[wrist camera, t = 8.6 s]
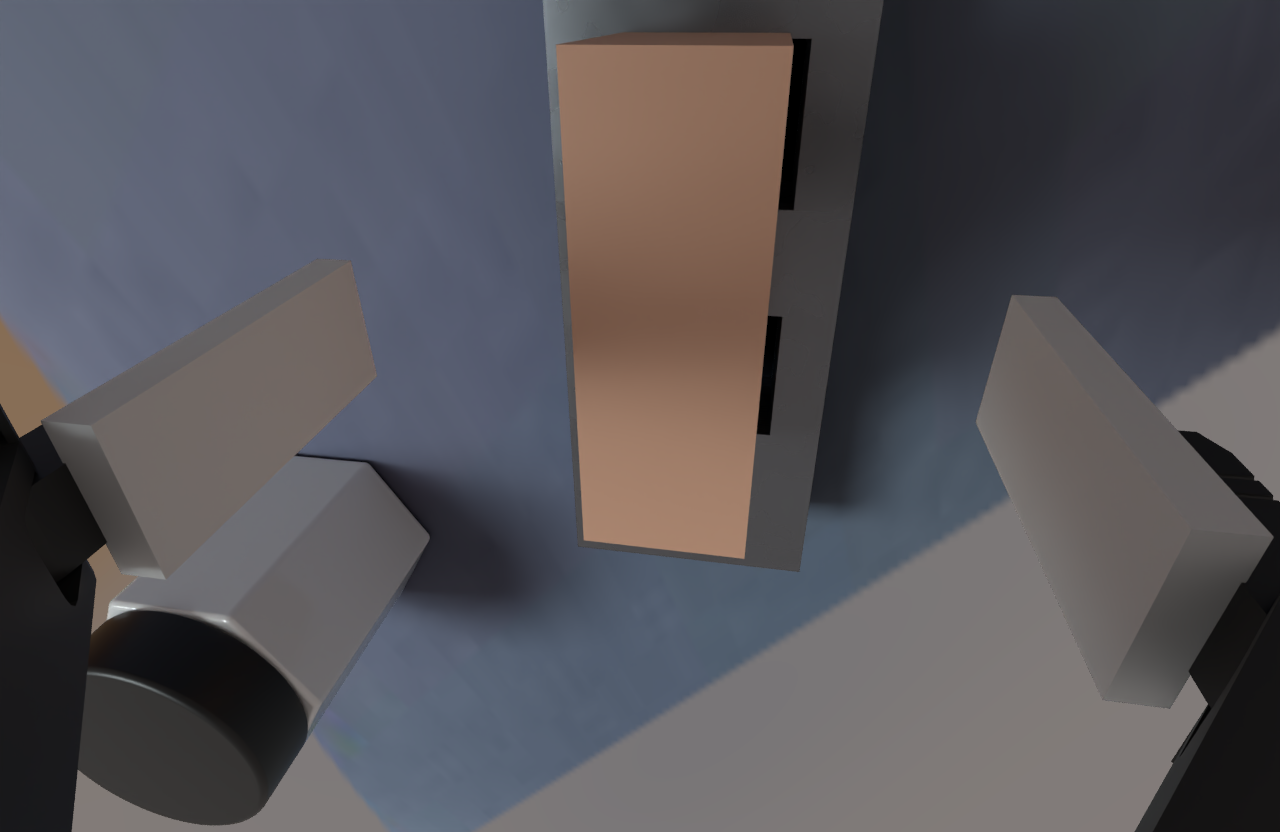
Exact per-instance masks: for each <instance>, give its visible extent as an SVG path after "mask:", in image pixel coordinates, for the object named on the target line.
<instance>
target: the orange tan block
mask: <svg viewBox="0 0 1280 832" xmlns="http://www.w3.org/2000/svg"><path fill="white" fill-rule="evenodd" d="M793 48H794V45H793V41H792V37H791V33H685V32H622V33H617V34H611V35H606V36H600V37H595V38H589V39H584V40H578V41H573V42H567V43H562V44H556V54H557V72H558V90H559V107H560V125H561V143H562V161H563V179H564V197H565V214H566V232H567V250H568V268H569V286H570V304H571V321H572V339H573V357H574V375H575V393H576V410H577V428H578V446H579V464H580V482H581V500H582V517H583V535H584V540H586V541H594V542H603V543H612V544H620V545H629V546H638V547H646V548H655V549H664V550H672V551H681V552H690V553H698V554H707V555H716V556H724V557H733V558H742V559H744V557H745V547H746V537H747V526H748V516H749V505H750V495H751V485H752V474H753V464H754V453H755V443H756V433H757V422H758V412H759V401H760V391H761V381H762V370H763V360H764V349H765V339H766V329H767V318H768V308H769V297H770V287H771V277H772V266H773V256H774V245H775V235H776V225H777V214H778V204H779V193H780V183H781V173H782V162H783V152H784V141H785V131H786V121H787V110H788V100H789V89H790V79H791V69H792V58H793Z"/></svg>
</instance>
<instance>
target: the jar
mask: <svg viewBox="0 0 1280 832" xmlns="http://www.w3.org/2000/svg"><path fill="white" fill-rule="evenodd" d="M429 539H430V536H429V534H428V533H427V531H426V530H425V529H424V528H423V527H422V525H421V524H420V523H419V522H418V521H417V520H416V518H415V517H414V516H413V515H412V514H411V512H410V511H409V510H408V509H407V508H406V507H405V505H404V504H403V503H402V502H401V501H400V499H399V498H398V497H397V496H396V495H395V494H394V492H393V491H392V490H391V489H390V488H389V486H388V485H387V484H386V483H385V482H384V481H383V479H382V478H381V477H380V476H379V475H378V473H377V472H376V471H375V470H374V469H373V468H372V466H371V465H370V464H369V463H366V462H356V461H345V460H334V459H323V458H312V457H302V456H294V457H293V458H292V459H291V460H290V461H289V462H287V463H286V464H285V465H284V466H283V467H282V468H281V469H280V470H279V471H278V472H277V473H276V474H275V475H274V476H273V477H272V478H271V479H270V480H269V481H268V482H267V483H266V484H265V485H264V486H263V487H262V488H261V489H260V490H258V491H257V492H256V493H255V494H254V495H253V496H252V497H251V498H250V499H249V500H248V501H247V502H246V503H245V504H244V505H243V506H242V507H241V508H240V509H239V510H238V511H237V512H236V513H235V514H234V515H233V516H232V517H230V518H229V519H228V520H227V521H226V522H225V523H224V524H223V525H222V526H221V527H220V528H219V529H218V530H217V531H216V532H215V533H214V534H213V535H212V536H211V537H210V538H209V539H208V540H207V541H206V542H205V543H204V544H203V545H201V546H200V547H199V548H198V549H197V550H196V551H195V552H194V553H193V554H192V555H191V556H190V557H189V558H188V559H187V560H186V561H185V562H184V563H183V564H182V565H181V566H180V567H179V568H178V569H177V570H176V571H175V572H174V573H172V574H171V575H170V576H169V577H168V578H167V579H166V580H165V579H157V578H149V577H141V576H138V577H137V578H136V579H135V580H134V581H133V582H131V583H130V584H129V585H128V586H127V587H126V588H125V589H124V590H123V591H121V592H120V593H119V594H118V595H117V596H116V597H115V598H114V599H112V600H111V602H110V603H109V608H108V615H107V621H106V622H104V623H103V624H102V625H101V626H100V627H99V628H98V629H97V630H95V631H94V632H93V633H92V634H91V639H90V649H89V659H88V669H87V679H86V689H85V699H84V710H83V720H82V730H81V740H80V750H79V760H78V770H79V771H81V772H82V773H83V774H84V775H86V776H87V777H88V778H90V779H91V780H92V781H94V782H95V783H97V784H98V785H100V786H101V787H103V788H105V789H106V790H108V791H110V792H111V793H113V794H115V795H116V796H119V797H120V798H122V799H124V800H126V801H128V802H130V803H132V804H134V805H137V806H139V807H141V808H143V809H146V810H148V811H151V812H153V813H156V814H159V815H162V816H165V817H168V818H172V819H175V820H179V821H183V822H188V823H194V824H201V825H230V824H235V823H239V822H243V821H245V820H247V819H249V818H251V817H253V816H254V815H256V814H257V813H258V812H259V811H260V810H261V809H262V808H263V807H264V806H265V804H266V803H267V801H268V799H269V797H270V796H271V795H272V793H273V792H274V790H275V789H276V787H277V786H278V784H279V782H280V781H281V779H282V778H283V776H284V775H285V773H286V772H287V770H288V768H289V767H290V765H291V764H292V762H293V760H294V759H295V758H296V756H297V755H298V753H299V751H300V750H301V748H302V747H303V745H304V743H305V742H306V740H307V739H308V737H309V736H310V734H311V733H312V731H313V729H314V728H315V726H316V725H317V723H318V722H319V720H320V719H321V717H322V716H323V714H324V712H325V711H326V709H327V708H328V706H329V705H330V703H331V702H332V700H333V698H334V697H335V695H336V694H337V692H338V691H339V689H340V688H341V686H342V685H343V683H344V681H345V680H346V678H347V677H348V675H349V674H350V672H351V671H352V669H353V667H354V666H355V664H356V663H357V661H358V660H359V658H360V657H361V655H362V654H363V652H364V650H365V649H366V647H367V646H368V644H369V643H370V641H371V640H372V638H373V636H374V635H375V633H376V632H377V630H378V629H379V627H380V626H381V624H382V622H383V621H384V619H385V618H386V616H387V615H388V613H389V612H390V610H391V609H392V607H393V605H394V604H395V602H396V601H397V599H398V598H399V596H400V595H401V593H402V591H403V589H404V587H405V585H406V583H407V582H408V580H409V578H410V576H411V574H412V572H413V570H414V568H415V566H416V565H417V563H418V561H419V559H420V557H421V555H422V553H423V551H424V549H425V547H426V546H427V544H428V542H429Z"/></svg>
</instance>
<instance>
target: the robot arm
mask: <svg viewBox="0 0 1280 832" xmlns="http://www.w3.org/2000/svg"><path fill="white" fill-rule="evenodd" d="M376 377H377V374H376V370H375V365H374V361H373V356H372V352H371V348H370V343H369V339H368V335H367V330H366V326H365V321H364V317H363V313H362V308H361V304H360V300H359V295H358V291H357V286H356V282H355V278H354V273H353V269H352V264H351V261H349V260H330V259H316V260H314V261H313V262H311V263H309V264H308V265H306V266H304V267H302V268H301V269H299V270H297V271H296V272H294V273H292V274H290V275H289V276H287V277H285V278H284V279H282V280H280V281H279V282H277V283H275V284H273V285H272V286H270V287H268V288H267V289H265V290H263V291H261V292H260V293H258V294H256V295H255V296H253V297H251V298H249V299H248V300H246V301H244V302H243V303H241V304H239V305H238V306H236V307H234V308H232V309H231V310H229V311H227V312H226V313H224V314H222V315H220V316H219V317H217V318H215V319H214V320H212V321H210V322H208V323H207V324H205V325H203V326H202V327H200V328H198V329H197V330H195V331H193V332H191V333H190V334H188V335H186V336H185V337H183V338H181V339H179V340H178V341H176V342H174V343H173V344H171V345H169V346H167V347H166V348H164V349H162V350H161V351H159V352H157V353H156V354H154V355H152V356H150V357H149V358H147V359H145V360H144V361H142V362H140V363H138V364H137V365H135V366H133V367H132V368H130V369H128V370H126V371H125V372H123V373H121V374H120V375H118V376H116V377H115V378H113V379H111V380H109V381H108V382H106V383H104V384H103V385H101V386H99V387H97V388H96V389H94V390H92V391H91V392H89V393H87V394H85V395H84V396H82V397H80V398H79V399H77V400H75V401H74V402H72V403H70V404H68V405H67V406H65V407H63V408H62V409H60V410H58V411H57V412H55V413H53V414H52V415H50V416H48V417H46V418H45V419H43V420H41V423H42V425H41V426H39V427H37V428H36V429H34V430H32V431H31V432H29V433H27V434H25V435H24V436H22V437H20V438H19V437H18V435H17V433H16V431H15V429H14V428H13V426H12V424H11V423H10V420H9V419H8V417H7V415H6V413H5V412H4V410H3V408H2V406H1V404H0V832H71V830H72V821H73V811H74V801H75V791H76V780H77V770H78V760H79V750H80V740H81V730H82V720H83V710H84V699H85V689H86V679H87V669H88V659H89V649H90V639H91V629H92V618H93V608H94V598H95V588H96V578H95V574H94V571H93V569H92V568H91V566H90V564H89V562H88V561H87V559H88V558H89V557H90V556H91V555H93V554H94V553H95V552H96V551H97V550H99V549H100V548H101V547H102V546H103V545H105V544H106V545H107V547H108V549H109V551H110V553H111V555H112V557H113V559H114V560H115V562H116V564H117V566H118V568H119V570H120V572H121V574H126V575H134V576H141V577H149V578H157V579H165V580H166V579H167V578H168V577H169V576H170V575H171V574H172V573H174V572H175V571H176V570H177V569H178V568H179V567H180V566H181V565H182V564H183V563H184V562H185V561H186V560H187V559H188V558H189V557H190V556H191V555H192V554H193V553H194V552H195V551H196V550H197V549H198V548H199V547H200V546H201V545H203V544H204V543H205V542H206V541H207V540H208V539H209V538H210V537H211V536H212V535H213V534H214V533H215V532H216V531H217V530H218V529H219V528H220V527H221V526H222V525H223V524H224V523H225V522H226V521H227V520H228V519H229V518H230V517H232V516H233V515H234V514H235V513H236V512H237V511H238V510H239V509H240V508H241V507H242V506H243V505H244V504H245V503H246V502H247V501H248V500H249V499H250V498H251V497H252V496H253V495H254V494H255V493H256V492H257V491H258V490H260V489H261V488H262V487H263V486H264V485H265V484H266V483H267V482H268V481H269V480H270V479H271V478H272V477H273V476H274V475H275V474H276V473H277V472H278V471H279V470H280V469H281V468H282V467H283V466H284V465H285V464H286V463H287V462H289V461H290V460H291V459H292V458H293V457H294V456H295V455H296V454H297V453H298V452H299V451H300V450H301V449H302V448H303V447H304V446H305V445H306V444H307V443H308V442H309V441H310V440H311V439H312V438H313V437H314V436H315V435H316V434H318V433H319V432H320V431H321V430H322V429H323V428H324V427H325V426H326V425H327V424H328V423H329V422H330V421H331V420H332V419H333V418H334V417H335V416H336V415H337V414H338V413H339V412H340V411H341V410H342V409H343V408H344V407H345V406H347V405H348V404H349V403H350V402H351V401H352V400H353V399H354V398H355V397H356V396H357V395H358V394H359V393H360V392H361V391H362V390H363V389H364V388H365V387H366V386H367V385H368V384H369V383H370V382H371V381H372V380H373V379H374V378H376ZM976 424H977V426H978V429H979V431H980V433H981V435H982V437H983V439H984V442H985V444H986V446H987V448H988V450H989V453H990V455H991V457H992V459H993V461H994V464H995V466H996V468H997V470H998V472H999V474H1000V477H1001V479H1002V481H1003V483H1004V485H1005V488H1006V490H1007V492H1008V494H1009V496H1010V499H1011V501H1012V503H1013V505H1014V507H1015V510H1016V512H1017V514H1018V516H1019V518H1020V520H1021V523H1022V525H1023V527H1024V529H1025V531H1026V534H1027V536H1028V538H1029V540H1030V542H1031V544H1032V547H1033V549H1034V551H1035V553H1036V555H1037V558H1038V560H1039V562H1040V564H1041V566H1042V569H1043V571H1044V573H1045V575H1046V577H1047V579H1048V581H1049V584H1050V586H1051V588H1052V590H1053V593H1054V595H1055V597H1056V599H1057V601H1058V604H1059V606H1060V608H1061V610H1062V612H1063V614H1064V617H1065V619H1066V621H1067V623H1068V625H1069V628H1070V630H1071V632H1072V634H1073V636H1074V639H1075V641H1076V643H1077V645H1078V647H1079V649H1080V652H1081V654H1082V656H1083V658H1084V661H1085V663H1086V665H1087V667H1088V669H1089V672H1090V674H1091V676H1092V678H1093V680H1094V682H1095V685H1096V687H1097V689H1098V691H1099V693H1100V696H1101V698H1102V700H1106V701H1114V702H1122V703H1130V704H1138V705H1145V706H1153V707H1161V708H1169V709H1170V708H1171V706H1172V705H1173V703H1174V701H1175V699H1176V698H1177V696H1178V695H1179V693H1180V691H1181V690H1182V688H1183V686H1184V685H1185V683H1186V681H1187V680H1188V678H1189V676H1190V675H1191V676H1192V678H1193V680H1194V681H1195V683H1196V685H1197V686H1198V688H1199V690H1200V691H1201V693H1202V695H1203V696H1204V698H1205V700H1206V701H1207V703H1208V705H1207V707H1206V709H1205V710H1204V712H1203V713H1202V715H1201V716H1200V718H1199V719H1198V721H1197V722H1196V724H1195V726H1194V727H1193V729H1192V730H1191V732H1190V733H1189V735H1188V736H1187V738H1186V740H1185V741H1184V742H1183V744H1182V746H1181V747H1180V749H1179V750H1178V752H1177V754H1176V755H1175V756H1174V758H1173V759H1172V761H1171V762H1173V765H1172V767H1171V768H1170V770H1169V772H1168V774H1167V775H1166V777H1165V779H1164V781H1163V782H1162V784H1161V786H1160V788H1159V790H1158V791H1157V793H1156V795H1155V797H1154V799H1153V800H1152V802H1151V804H1150V806H1149V807H1148V809H1147V811H1146V813H1145V814H1144V816H1143V818H1142V820H1141V821H1140V823H1139V825H1138V827H1137V829H1136V830H1135V832H1280V502H1279V501H1276V500H1273V495H1272V494H1271V493H1270V492H1269V491H1268V490H1267V489H1266V488H1265V487H1264V486H1263V484H1261V482H1259V481H1254V476H1253V474H1252V473H1251V472H1250V471H1249V470H1248V469H1247V468H1246V467H1245V466H1244V465H1243V464H1242V463H1241V462H1240V461H1239V460H1238V459H1237V458H1236V457H1235V456H1234V455H1233V454H1232V453H1231V452H1229V451H1227V450H1226V449H1224V448H1222V447H1221V446H1219V445H1217V444H1216V443H1214V442H1212V441H1211V440H1209V439H1207V438H1205V437H1204V436H1202V435H1201V434H1199V433H1197V432H1190V431H1177V430H1176V428H1174V426H1173V425H1172V424H1171V423H1170V422H1169V421H1168V420H1167V419H1166V417H1165V416H1164V415H1163V414H1162V413H1161V412H1160V411H1159V410H1158V409H1157V407H1156V406H1155V405H1154V404H1153V403H1152V402H1151V401H1150V400H1149V399H1148V397H1147V396H1146V395H1145V394H1144V393H1143V392H1142V391H1141V390H1140V389H1139V388H1138V386H1137V385H1136V384H1135V383H1134V382H1133V381H1132V380H1131V379H1130V378H1129V376H1128V375H1127V374H1126V373H1125V372H1124V371H1123V370H1122V369H1121V368H1120V367H1119V365H1118V364H1117V363H1116V362H1115V361H1114V360H1113V359H1112V358H1111V357H1110V355H1109V354H1108V353H1107V352H1106V351H1105V350H1104V349H1103V348H1102V347H1101V346H1100V344H1099V343H1098V342H1097V341H1096V340H1095V339H1094V338H1093V337H1092V336H1091V335H1090V333H1089V332H1088V331H1087V330H1086V329H1085V328H1084V327H1083V326H1082V325H1081V323H1080V322H1079V321H1078V320H1077V319H1076V318H1075V317H1074V316H1073V315H1072V314H1071V312H1070V311H1069V310H1068V309H1067V308H1066V307H1065V306H1064V305H1063V304H1062V302H1061V301H1060V300H1059V299H1058V298H1057V297H1045V296H1026V295H1012V296H1011V300H1010V303H1009V307H1008V310H1007V314H1006V317H1005V321H1004V324H1003V328H1002V331H1001V335H1000V338H999V342H998V346H997V349H996V353H995V356H994V360H993V363H992V367H991V370H990V374H989V377H988V381H987V384H986V388H985V391H984V395H983V398H982V402H981V405H980V409H979V412H978V416H977V419H976Z"/></svg>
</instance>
